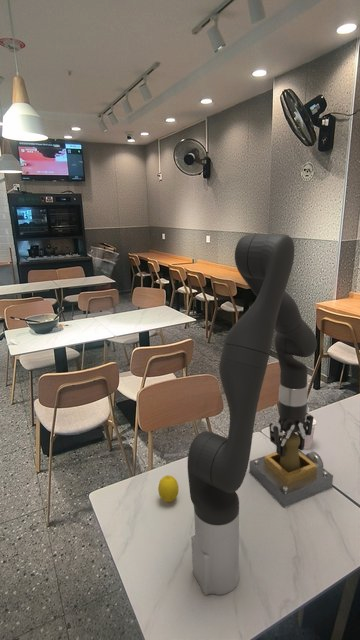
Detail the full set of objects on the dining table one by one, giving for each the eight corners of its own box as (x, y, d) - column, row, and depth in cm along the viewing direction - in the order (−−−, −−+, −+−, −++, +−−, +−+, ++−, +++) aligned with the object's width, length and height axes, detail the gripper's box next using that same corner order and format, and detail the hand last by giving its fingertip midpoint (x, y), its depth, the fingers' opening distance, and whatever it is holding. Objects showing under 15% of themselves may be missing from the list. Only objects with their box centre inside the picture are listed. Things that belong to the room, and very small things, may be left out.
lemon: (166, 491, 105) (164, 467, 103) (182, 498, 102) (181, 473, 100) (155, 504, 100) (153, 479, 98) (172, 511, 98) (170, 485, 96)
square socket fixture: (284, 507, 97) (284, 486, 96) (249, 472, 112) (249, 453, 110) (336, 485, 105) (337, 466, 103) (297, 455, 119) (298, 437, 117)
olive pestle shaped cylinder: (301, 475, 103) (303, 441, 100) (279, 473, 104) (280, 439, 102) (299, 462, 109) (300, 429, 106) (278, 460, 110) (279, 428, 107)
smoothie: (319, 448, 122) (321, 410, 119) (303, 453, 120) (305, 414, 116) (306, 438, 128) (308, 402, 124) (291, 443, 126) (292, 406, 122)
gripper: (280, 410, 95) (278, 466, 99) (322, 398, 101) (319, 452, 105) (263, 399, 102) (261, 452, 106) (303, 388, 107) (300, 439, 112)
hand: (290, 451), depth 105 cm, fingers open, 6 cm apart
